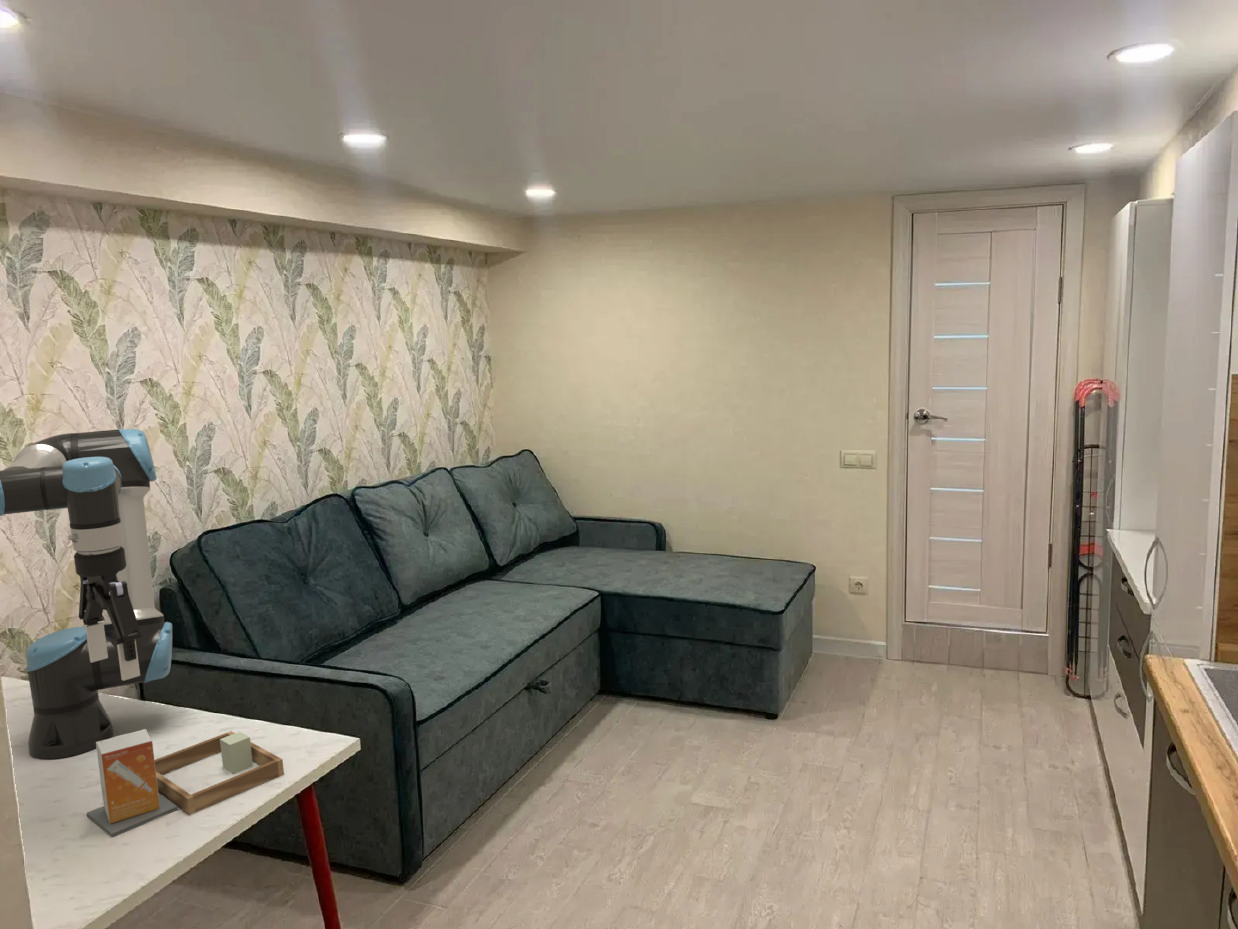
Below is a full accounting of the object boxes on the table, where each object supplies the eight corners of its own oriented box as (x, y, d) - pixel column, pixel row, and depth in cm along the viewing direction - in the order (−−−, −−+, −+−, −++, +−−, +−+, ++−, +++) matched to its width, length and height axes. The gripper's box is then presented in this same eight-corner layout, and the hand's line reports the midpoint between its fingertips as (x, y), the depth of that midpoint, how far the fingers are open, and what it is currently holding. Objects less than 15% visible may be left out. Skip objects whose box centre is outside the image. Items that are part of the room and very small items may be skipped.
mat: (87, 816, 163) (86, 812, 163) (151, 790, 171) (150, 787, 171) (112, 837, 156) (111, 834, 156) (177, 809, 164) (177, 806, 164)
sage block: (222, 768, 179) (219, 739, 178) (242, 760, 182) (239, 731, 181) (233, 774, 177) (229, 745, 176) (252, 766, 179) (249, 737, 179)
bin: (141, 780, 175) (139, 765, 175) (232, 745, 189) (231, 731, 188) (189, 814, 162) (187, 798, 162) (283, 774, 176) (282, 759, 175)
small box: (109, 825, 159) (100, 754, 157) (104, 810, 164) (94, 741, 162) (161, 809, 163) (152, 740, 161) (154, 795, 168) (145, 727, 166)
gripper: (47, 543, 161) (64, 659, 165) (104, 565, 145) (121, 693, 149) (94, 534, 167) (108, 646, 171) (153, 555, 151) (168, 678, 154)
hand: (114, 668), depth 160 cm, fingers open, 13 cm apart
